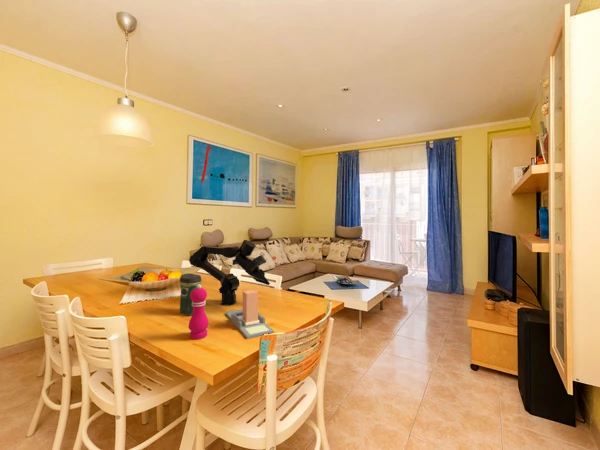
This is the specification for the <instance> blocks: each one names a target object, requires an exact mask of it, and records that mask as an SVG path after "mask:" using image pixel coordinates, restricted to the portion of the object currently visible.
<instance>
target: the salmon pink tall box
mask: <svg viewBox="0 0 600 450" xmlns="http://www.w3.org/2000/svg"><path fill="white" fill-rule="evenodd" d="M242 309H243V318H242V319H241V321H242V323H243V324H244V325H245V326H248V325H253V324H258V323H259V320H258V313H259V292H258V291H257V290H255V289H248V290H243V291H242Z"/></svg>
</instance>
